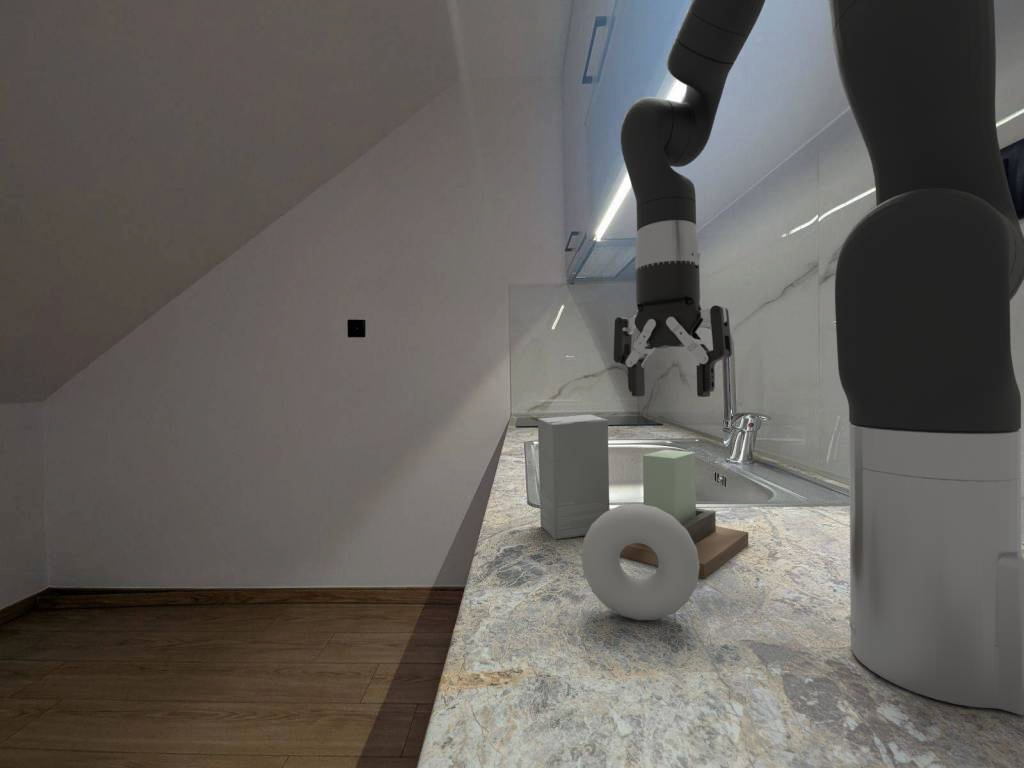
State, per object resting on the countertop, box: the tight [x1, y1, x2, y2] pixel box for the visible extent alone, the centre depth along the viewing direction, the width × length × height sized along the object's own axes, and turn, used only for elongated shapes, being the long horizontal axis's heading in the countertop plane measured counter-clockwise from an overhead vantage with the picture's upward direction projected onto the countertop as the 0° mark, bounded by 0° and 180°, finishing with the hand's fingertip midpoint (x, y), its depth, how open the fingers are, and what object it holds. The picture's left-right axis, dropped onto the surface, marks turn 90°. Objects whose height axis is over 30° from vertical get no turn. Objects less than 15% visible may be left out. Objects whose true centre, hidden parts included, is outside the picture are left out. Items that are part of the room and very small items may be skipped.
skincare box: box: [537, 414, 611, 540], centre depth 67 cm, size 8×7×16 cm
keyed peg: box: [642, 449, 697, 524], centre depth 61 cm, size 6×4×10 cm, turn 137°
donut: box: [581, 503, 700, 621], centre depth 43 cm, size 10×4×10 cm, turn 74°
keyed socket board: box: [620, 507, 749, 579], centre depth 61 cm, size 14×14×4 cm
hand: (669, 396), depth 61 cm, fingers open, 8 cm apart
